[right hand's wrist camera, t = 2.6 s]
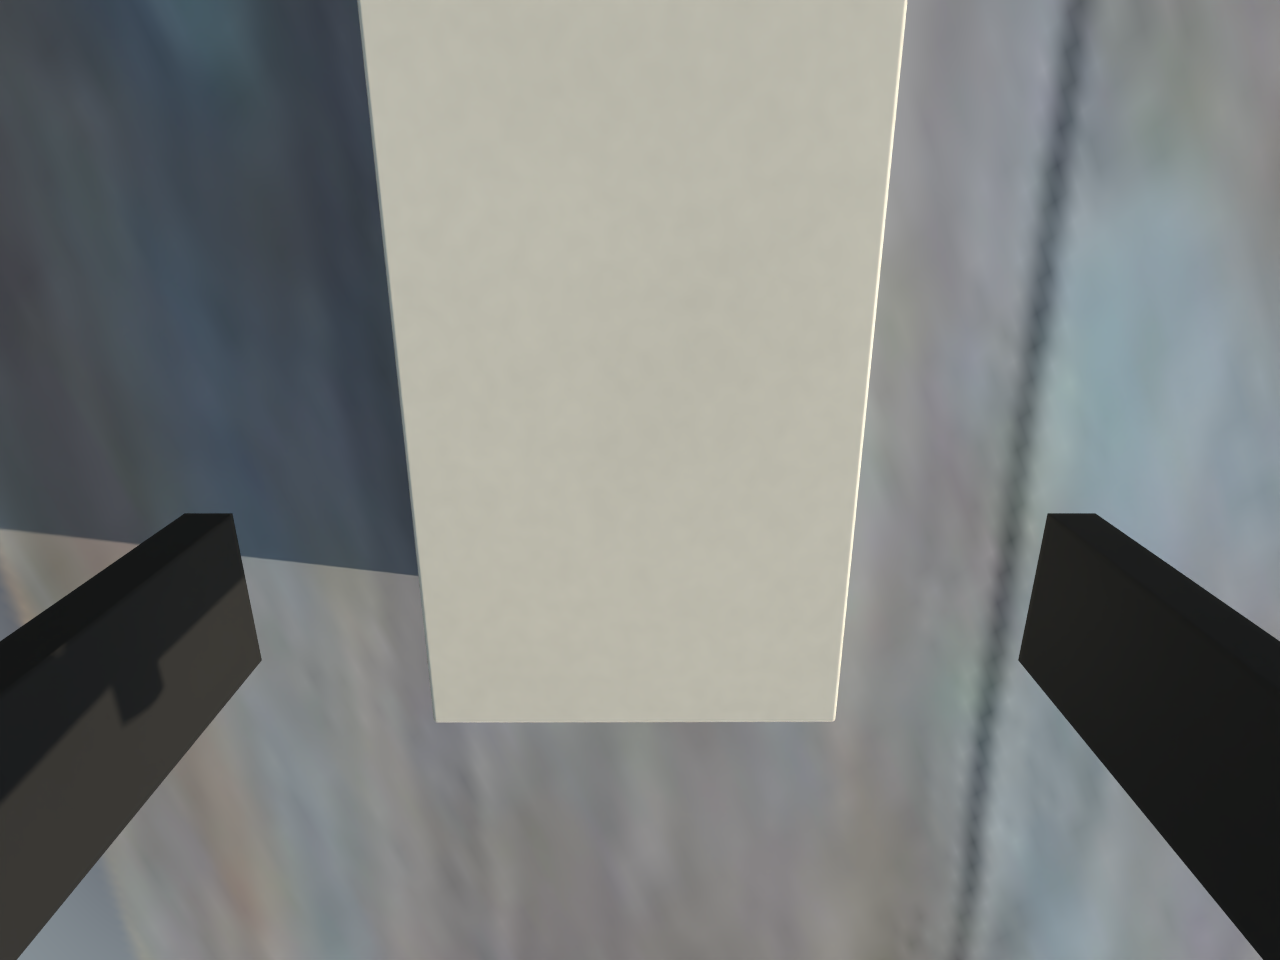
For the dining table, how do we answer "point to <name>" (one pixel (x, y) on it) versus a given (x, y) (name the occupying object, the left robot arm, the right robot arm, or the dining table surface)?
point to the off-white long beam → (633, 342)
